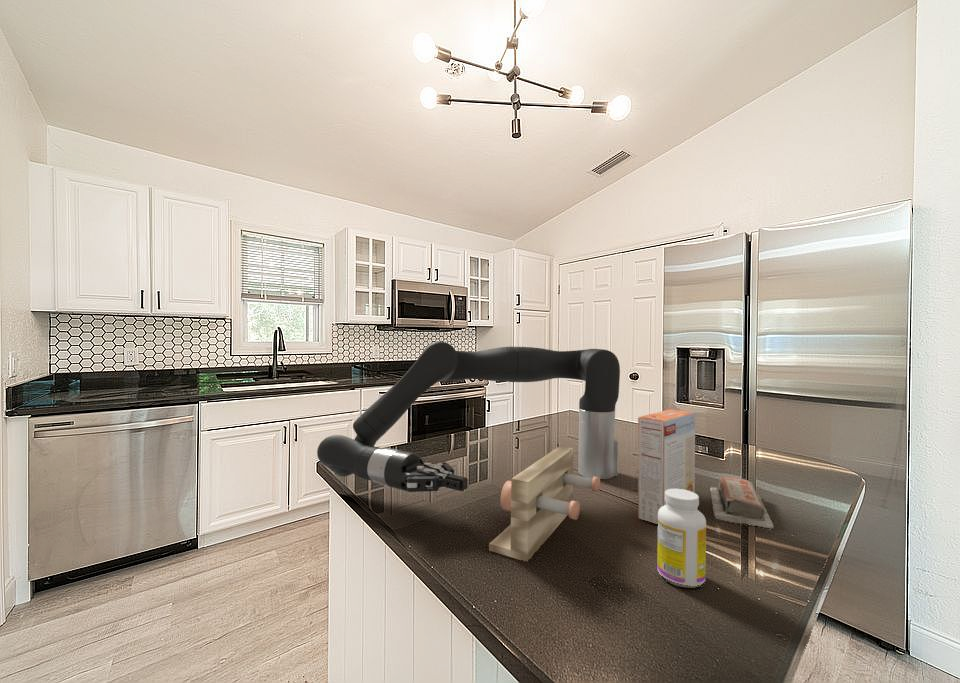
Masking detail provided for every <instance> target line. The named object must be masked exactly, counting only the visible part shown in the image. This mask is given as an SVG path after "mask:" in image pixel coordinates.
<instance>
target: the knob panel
mask: <svg viewBox="0 0 960 683" xmlns="http://www.w3.org/2000/svg"><path fill="white" fill-rule="evenodd" d="M563 473H567V474H572V475H574V447H568V446H562V445H559V446H558V447H556V448H555V449H553V450H551V451H550V452H549V453H547V454H546V455H544V456H543V457H541V458H539V459H538V460H537V462H536V461H535V462H534V463H532V464H531V465H529V466H528V467H526V468H524V470H522V471H521V472H519V473H517V474H516V475H515V476H513V477H512V478H511V480H510V481H511V511H510V524H509V525H508V526H507V527H506V528H505V529H504V530H503V531H502V532H501V533H499V534H498V535H497V536H496V537H495V538H494V539H493V540H491V541H490V542H489V543H488V551H489V552H493V553H497V554H498V555H502V556H506V557H509V558H513V559H516V560H519V561H522V560H523V561H522V562H525V561H527V562H526V563H528V562H529V561H530V560H531V559H532V557H533V556H534V555H535V554H536V553H537V551H538V550H539V549H540V548H541V547H540V546H541V545H544V543H545V542H546V541H547V540H548V538H549V537H550V536H551V535H552V534H553V533H554V532H555V530H557V528H558V527H559V525H561V523H562V522H563V521H564V520H565V519H566V518H567V516H568V515H565V514H561V513H556V512H552V511H547V510H543V509H539V508H536V499H537V496H542V497H546V498H551V499H556V500H560V501H565V502H571V501H572V500H573V501H574V497H573V496H574V485H569V484H564V483H563ZM535 552H536V553H535ZM534 553H535V554H534ZM533 554H534V555H533ZM529 559H530V560H529ZM528 560H529V561H528Z"/></svg>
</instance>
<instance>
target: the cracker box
mask: <svg viewBox="0 0 960 683" xmlns="http://www.w3.org/2000/svg"><path fill="white" fill-rule="evenodd" d="M637 419H638V420H637V421H638V422H637V424H638V425H637V428H638V430H637V438H638V439H637V442H638V443H637V466H638V467H637V478H638V480H637V481H638V482H637V519H638V518H639V519H638V520H640V519H642V520H641V521H643V520H645V521H644V522H646V521H649V522H652V523H655V524H658V511H659V509H660V508H661V507H662V506H664V505H666V500H665V491H666V490H668V489H683V490H688V491H691V492H693V493H696V492H695V489H696V488H695V481H696V478H695V477H696V476H695V474H696V473H695V471H696V465H695V464H696V463H695V462H696V412H695V411H687V410H680V409H673V408H672V409H671V408H670V409H666V410H661V411H658V412H653V413H650V414H646V415H642V416H638V418H637ZM649 522H648V523H649Z"/></svg>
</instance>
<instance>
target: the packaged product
mask: <svg viewBox="0 0 960 683" xmlns="http://www.w3.org/2000/svg"><path fill="white" fill-rule="evenodd" d="M709 489H710V495H711V496H710V497H711V504H712V505H713V506H712V505H711V506H712V512H713V511H714V512H713V516H714V518H715V517H716V518H719V519H725V520H730V521H737V522H742V523H746V524H753V525H758V526H763V527H767V528H773V529H774V523H773V521H772V520H771V517H770V515H769V513H768V511H767V509H766V507H765V505H764V503H763V501H762V498H761V496H760V495H759V494H758V493H757V491H756V489H755V486H754V483H752V481H749V480H747V479H745V478H739V477H733V476H732V477H729V476H720V478H719V482H718V487H716V486H714V485H712V486H710V487H709Z"/></svg>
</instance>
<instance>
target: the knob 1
mask: <svg viewBox="0 0 960 683" xmlns="http://www.w3.org/2000/svg"><path fill="white" fill-rule="evenodd" d="M500 507H501V509H502V510H504V511H508V512H511V480H507V481H505V483H504V484H503V487H502V488H501V493H500ZM536 508H539V509H543V510H547V511H552V512H556V513H561V514H565V515H567V516H568V518H569V519H572V520H575V521H577V520H578V518H579V516H580V508H581V507H580V502H579V501H577V500H574V499H573V500H572V501H571V502H565V501H560V500H556V499H551V498H546V497H542V496H537V499H536Z"/></svg>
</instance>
